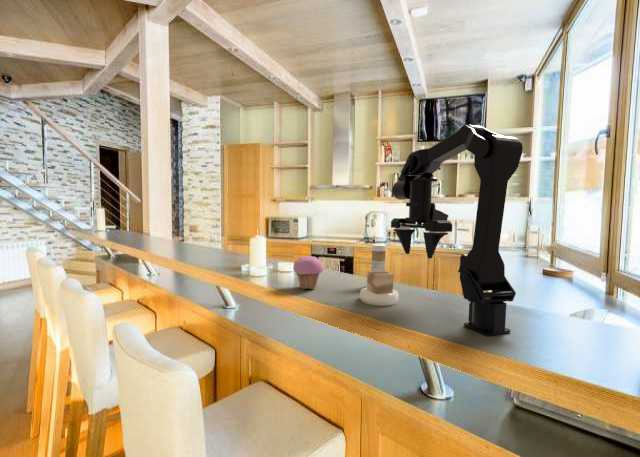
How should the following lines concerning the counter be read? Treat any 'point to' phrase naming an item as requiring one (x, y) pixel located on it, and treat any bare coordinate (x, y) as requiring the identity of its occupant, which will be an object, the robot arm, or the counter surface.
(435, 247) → the robot arm
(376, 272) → the beech cube
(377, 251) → the sprinkles bottle
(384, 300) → the ceramic stand
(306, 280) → the cupcake
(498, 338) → the counter surface
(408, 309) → the counter surface
